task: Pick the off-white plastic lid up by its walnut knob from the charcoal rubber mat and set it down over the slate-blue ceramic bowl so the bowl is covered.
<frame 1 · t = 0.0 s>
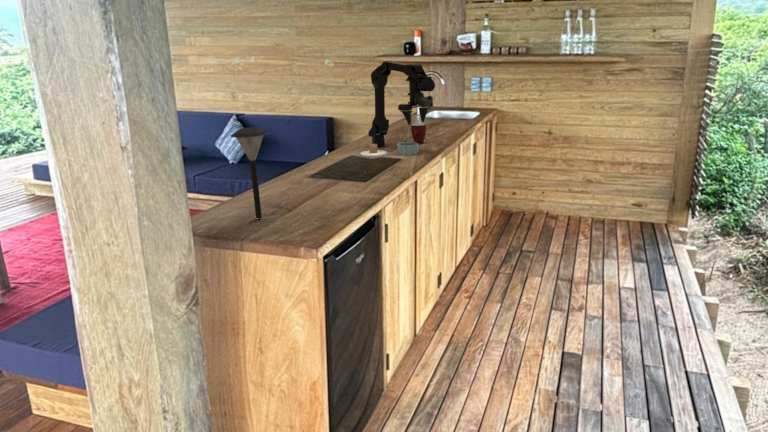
hand: (416, 123, 291), 15 cm above the counter, fingers open, 9 cm apart
bowl: (408, 154, 295), on the counter
mat: (373, 155, 296), on the counter
mug: (418, 143, 322), on the counter
lid: (373, 154, 295), point 1 cm above the counter, touching mat
solar garden light: (259, 219, 199), on the counter
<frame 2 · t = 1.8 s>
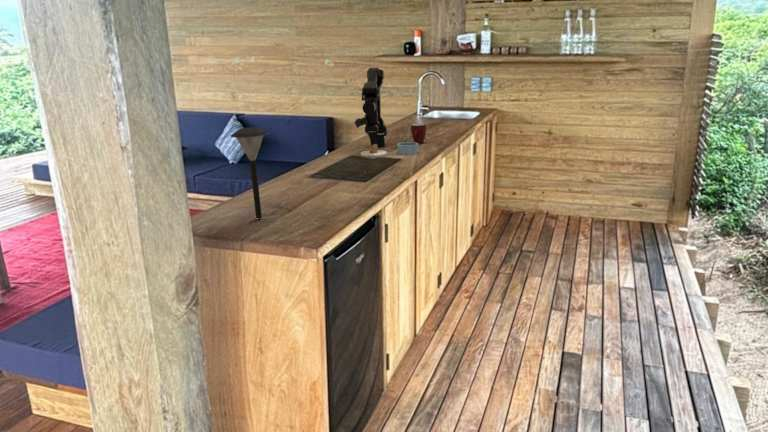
hand: (373, 143, 294), 6 cm above the counter, fingers open, 9 cm apart
nothing on the counter moved.
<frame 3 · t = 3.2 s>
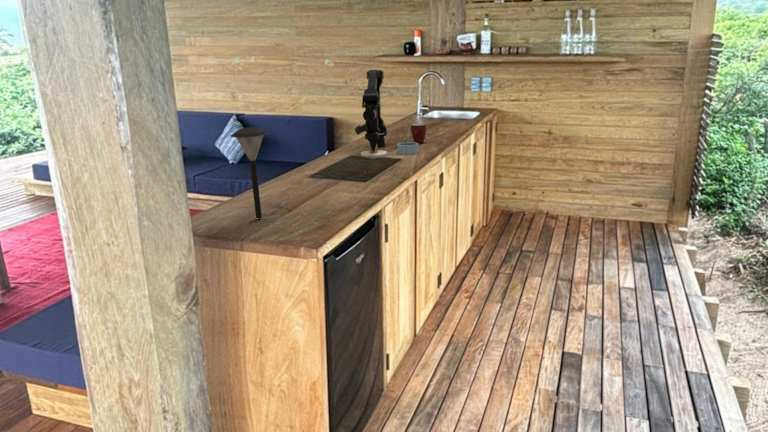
hand: (373, 150, 295), 2 cm above the counter, fingers closed on lid, 4 cm apart
lid: (373, 154, 295), point 1 cm above the counter, touching gripper, mat
everything else where it was.
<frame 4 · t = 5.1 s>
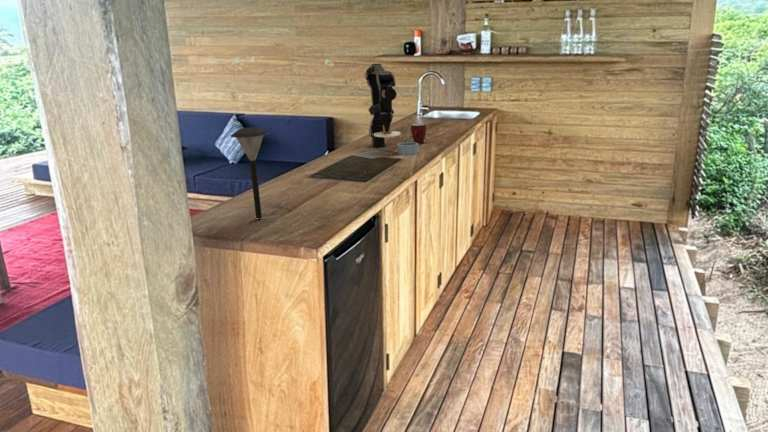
hand: (387, 131, 292), 12 cm above the counter, fingers closed on lid, 4 cm apart
lid: (387, 134, 292), point 10 cm above the counter, touching gripper
everything else where it was.
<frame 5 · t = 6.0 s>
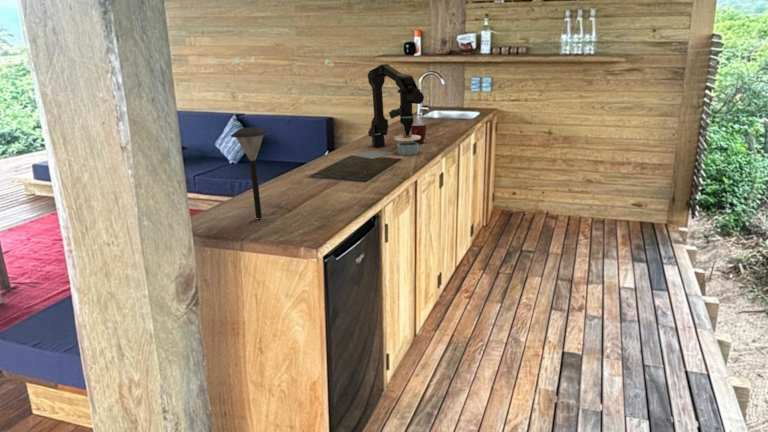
hand: (407, 135, 292), 9 cm above the counter, fingers closed on lid, 4 cm apart
lid: (407, 138, 293), point 8 cm above the counter, touching gripper
everything else where it was.
when the fingers open (8 cm above the counter, at t = 6.8 s): lid drops 1 cm, resting on bowl.
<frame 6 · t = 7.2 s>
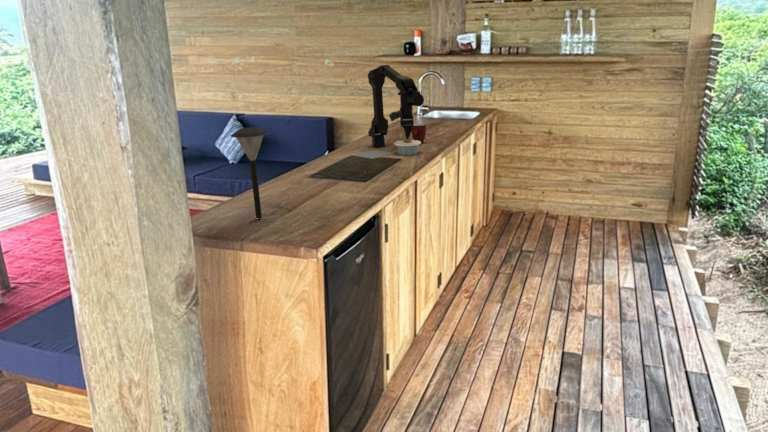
hand: (407, 137, 292), 8 cm above the counter, fingers open, 8 cm apart
lid: (407, 143, 293), point 5 cm above the counter, touching bowl
everything else where it was.
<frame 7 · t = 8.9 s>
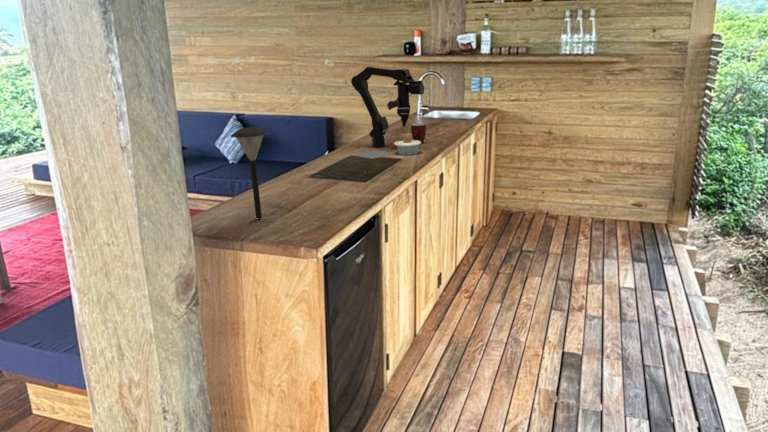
hand: (404, 125, 306), 12 cm above the counter, fingers open, 9 cm apart
nothing on the counter moved.
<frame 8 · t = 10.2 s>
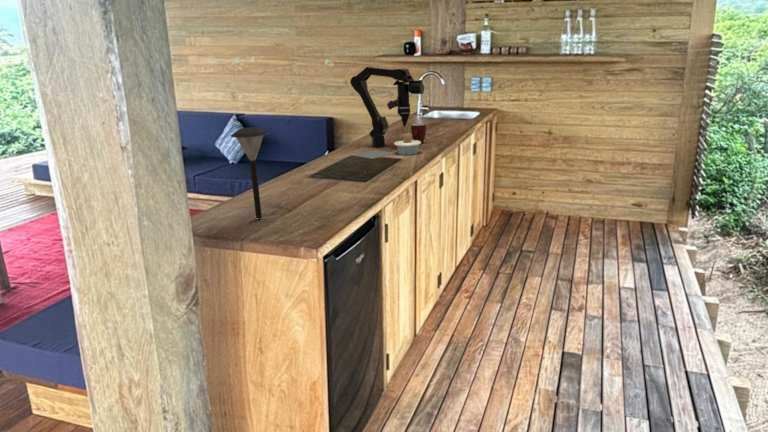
hand: (404, 125, 306), 12 cm above the counter, fingers open, 9 cm apart
nothing on the counter moved.
at the end: lid 0.1 cm off-centre on the bowl, point 5.0 cm above the bowl's base; lid tilted 0°; the gripper is holding nothing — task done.
